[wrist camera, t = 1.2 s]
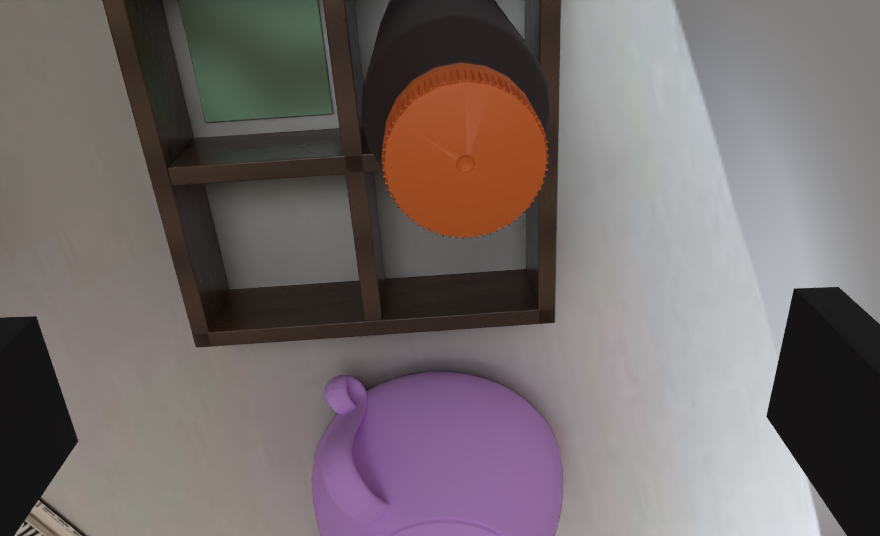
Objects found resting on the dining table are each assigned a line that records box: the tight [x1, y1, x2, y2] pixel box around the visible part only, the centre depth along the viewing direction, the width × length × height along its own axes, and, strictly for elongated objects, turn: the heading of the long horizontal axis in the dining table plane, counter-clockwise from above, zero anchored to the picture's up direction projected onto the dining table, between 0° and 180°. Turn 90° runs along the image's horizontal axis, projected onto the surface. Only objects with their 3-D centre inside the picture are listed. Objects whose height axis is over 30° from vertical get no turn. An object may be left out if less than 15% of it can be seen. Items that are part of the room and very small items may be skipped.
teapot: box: [312, 372, 563, 536], centre depth 46 cm, size 22×22×14 cm
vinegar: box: [361, 0, 551, 239], centre depth 29 cm, size 7×7×20 cm
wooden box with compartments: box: [102, 0, 561, 347], centre depth 38 cm, size 21×21×5 cm
